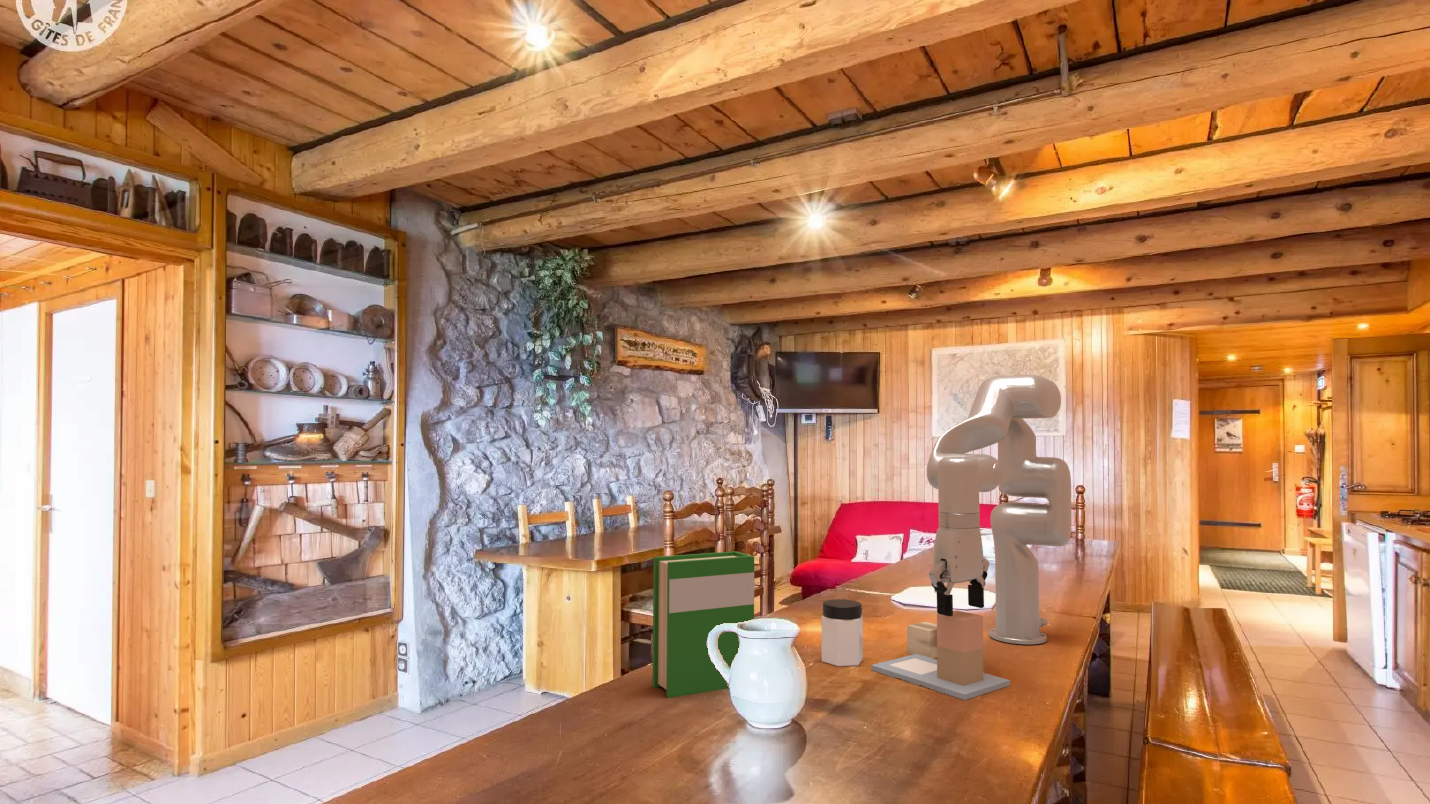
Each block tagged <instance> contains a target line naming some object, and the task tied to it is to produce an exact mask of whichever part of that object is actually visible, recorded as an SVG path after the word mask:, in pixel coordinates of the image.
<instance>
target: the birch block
mask: <svg viewBox="0 0 1430 804" xmlns="http://www.w3.org/2000/svg"><path fill="white" fill-rule="evenodd" d="M906 632H907V633H906V640H907V642H906V643H907V645H906V647H907V650H906V651H907V652H906V653H907V654H909V655H914V654H919V655H922V656H926V657H929V658H934V659H937V623H931V622H928V621H922V622H918V623H912V624H909V625H908V624H907V626H906Z"/></svg>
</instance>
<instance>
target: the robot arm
mask: <svg viewBox="0 0 1430 804" xmlns="http://www.w3.org/2000/svg"><path fill="white" fill-rule="evenodd" d="M1061 405H1062V396H1061V392H1060V389H1059V387H1058V385H1057V384H1056V383H1055V382H1054V381H1052V380H1050V379H1048V378H1046V377H1043V376H1041V375H1040V376H1039V375H1035V374H1021V375H1020V374H1019V375H1018V374H1017V375H1016V374H1015V375H1014V374H1013V375H999V376H998V375H997V376H991V377H989V378H986V379H985V380H983V382H981V384H980V385H979V387H978V390H977V391H976V395H975V397H974V400H973V402H972V406H971V408H970V411H969V414H968V416H967V417H966V418H965V419H962V420H961V421H960V422H958V423H956V424H955V425H954V426H951V427H950V428H949V429H947V430H945V432H943V433H942V434H941V435H940V436H939V437H938V438H937V440H936V441H935V443H934V445H933V448H932V451H931V453H930V456H929V457H928V462H927V465H926V479H927V482H928V483H929V484H930V487H932V488H934V489H936V490H937V491H938V492H937V496H938V497H937V498H938V499H937V500H938V503H937V504H938V505H937V506H938V528H936V533H935V540H934V546H933V549H934V550H933V568H932V569H931V570H930V571H929V572H928V576H929V579H930V582H931V586H932V588H933V589H934V593H936V614H941V615H945V616H953V611H954V603H953V602H954V599H953V597H954V595H953V594H952V593H951V592H952V590H953V588H954V586H955V584H959V583H960V584H961V583H964V582H968V583H969V584H968V585H967V603H968V606H970V607H974V608H979V609H983V608H985V590H984V589H985V588H984V587H985V586H986V579H987V577H988V571H989V566H990V562H989V561H988V560H987V559H985V558H984V549H983V539H982V535H981V534H982V533H981V523H980V522H981V519H980V516H981V515H980V493H988V492H992V491H994V490H995V489H996V488H997V487H998V488H999V491H1000V492H1001V493H1002V494H1004V495H1007V496H1010V497H1019V498H1034V499H1035V498H1038V499H1046V500H1047V502H1048V504H1047V503H1032V502H1011V501H1010V502H1002V503H999V504H997V505H996V506H995V507H993V509H992V510H991V513H990V528H991V532H992V533H991V534H992V540H993V547H994V565H995V566H994V570H995V574H994V575H995V577H994V579H995V583H994V585H995V627H992V628H990V630H989V631H988V635H989V637H990V638H991V639H993V640H996V641H999V642H1003V643H1007V644H1012V645H1013V644H1014V645H1015V644H1018V645H1029V646H1030V645H1040V644H1044V643H1046V642H1047V641H1048V638H1047V636H1048V635H1047V634H1046V633H1044V632H1042V631H1041V627H1045V626H1047V625H1048V623H1049V622H1048V619H1047V618H1046V617H1044V616H1043V617H1040V592H1039V591H1040V590H1039V589H1040V588H1039V587H1040V585H1039V584H1040V583H1039V582H1040V581H1039V580H1040V579H1039V576H1040V575H1039V572H1040V571H1039V570H1040V569H1039V568H1040V567H1039V562H1038V560H1037V558H1036V555H1034V553H1033V552H1032V550H1031V549H1030V548H1029V547H1028V545H1029V546H1032V545H1035V546H1042V547H1043V546H1045V547H1046V546H1047V547H1064V546H1066V545H1067V544H1068V543H1069V541H1070V540H1071V535H1072V478H1071V476H1072V475H1071V471H1070V467H1069V465H1068V464H1067V462H1066V461H1065V460H1064V459H1062V458H1058V457H1053V456H1052V457H1049V456H1037V447H1036V446H1037V445H1036V443H1037V442H1036V441H1037V438H1036V437H1037V436H1036V434H1035V431H1034V430H1033V429H1032V427H1031V426H1030V425H1029V424H1028V423H1027V421H1025V419H1051V418H1054V417H1055V416H1057V414H1058V413H1059V411H1060V408H1061ZM995 444H997V458H995V457H994V456H992V455H990V454H984V453H982V454H980V453H969V452H972V451H973V452H974V451H977V450H981V449H984V448H987V447H990V446H992V445H995ZM945 584H946V585H945Z"/></svg>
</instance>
